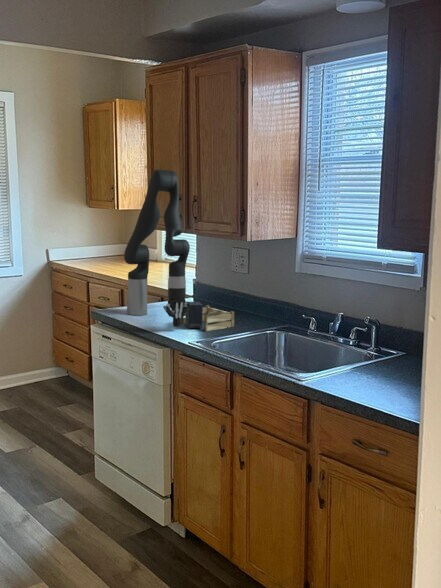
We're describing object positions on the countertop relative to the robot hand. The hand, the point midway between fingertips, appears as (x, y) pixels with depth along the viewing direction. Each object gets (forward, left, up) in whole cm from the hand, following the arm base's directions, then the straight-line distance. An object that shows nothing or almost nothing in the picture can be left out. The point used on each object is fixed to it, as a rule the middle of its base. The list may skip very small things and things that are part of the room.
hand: (176, 326), depth 274 cm
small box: (-2, +11, -2) cm, 11 cm away
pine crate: (-1, +17, -2) cm, 18 cm away
